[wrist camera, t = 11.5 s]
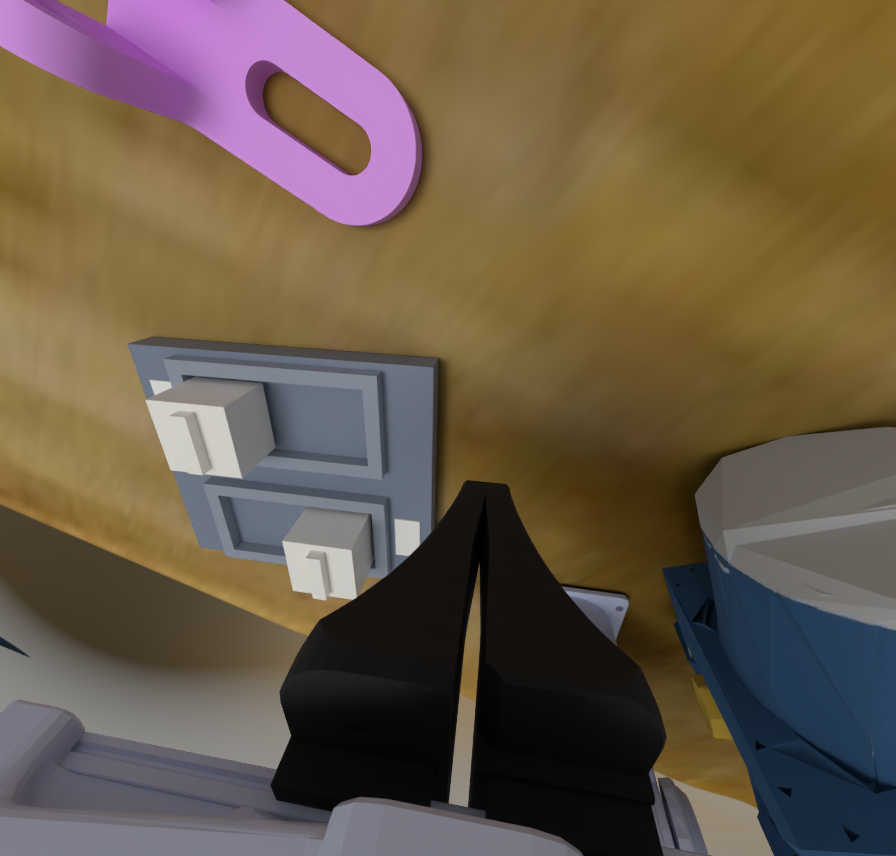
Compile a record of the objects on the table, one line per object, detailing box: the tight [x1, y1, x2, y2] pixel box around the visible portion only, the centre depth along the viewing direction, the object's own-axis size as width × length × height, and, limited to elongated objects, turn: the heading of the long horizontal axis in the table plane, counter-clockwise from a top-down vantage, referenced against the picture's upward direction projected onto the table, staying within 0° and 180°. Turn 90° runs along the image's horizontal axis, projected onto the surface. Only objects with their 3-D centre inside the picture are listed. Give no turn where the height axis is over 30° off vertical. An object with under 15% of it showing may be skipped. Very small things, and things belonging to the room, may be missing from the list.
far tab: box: [282, 506, 374, 600], centre depth 23 cm, size 4×4×4 cm
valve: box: [662, 427, 896, 856], centre depth 16 cm, size 13×15×15 cm
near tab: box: [146, 377, 276, 479], centre depth 20 cm, size 4×4×4 cm
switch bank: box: [128, 337, 439, 578], centre depth 24 cm, size 15×17×2 cm
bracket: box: [0, 0, 422, 226], centre depth 13 cm, size 13×6×7 cm, turn 58°
